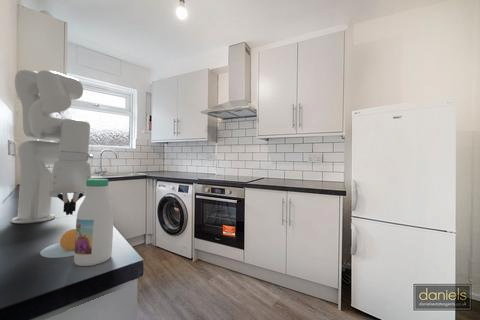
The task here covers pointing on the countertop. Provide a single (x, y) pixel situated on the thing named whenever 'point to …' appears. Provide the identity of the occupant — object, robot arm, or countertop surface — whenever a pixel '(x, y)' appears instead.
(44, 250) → the disc
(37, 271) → the countertop surface
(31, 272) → the countertop surface
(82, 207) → the milk bottle
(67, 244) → the ball
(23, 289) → the countertop surface
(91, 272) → the countertop surface
